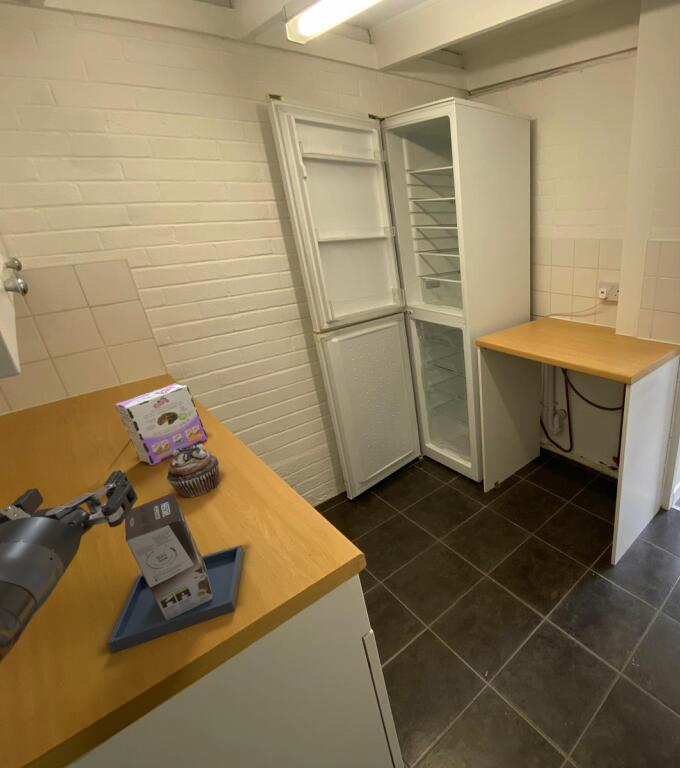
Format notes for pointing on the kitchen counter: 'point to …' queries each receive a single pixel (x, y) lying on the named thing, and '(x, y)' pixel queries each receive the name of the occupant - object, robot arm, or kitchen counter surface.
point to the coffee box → (168, 556)
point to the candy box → (162, 422)
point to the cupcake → (193, 471)
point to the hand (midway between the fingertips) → (79, 485)
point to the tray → (149, 622)
